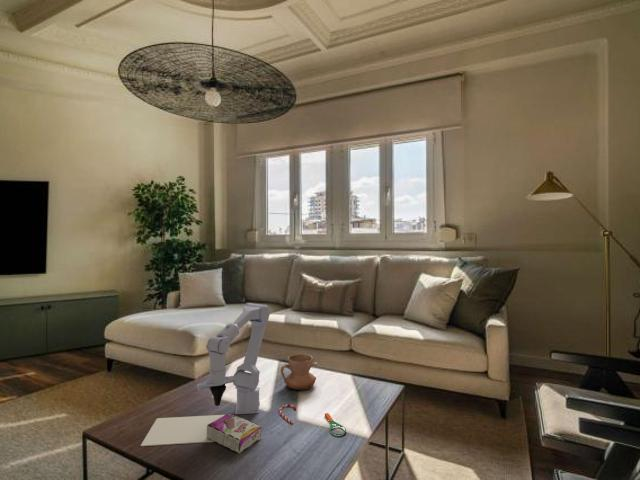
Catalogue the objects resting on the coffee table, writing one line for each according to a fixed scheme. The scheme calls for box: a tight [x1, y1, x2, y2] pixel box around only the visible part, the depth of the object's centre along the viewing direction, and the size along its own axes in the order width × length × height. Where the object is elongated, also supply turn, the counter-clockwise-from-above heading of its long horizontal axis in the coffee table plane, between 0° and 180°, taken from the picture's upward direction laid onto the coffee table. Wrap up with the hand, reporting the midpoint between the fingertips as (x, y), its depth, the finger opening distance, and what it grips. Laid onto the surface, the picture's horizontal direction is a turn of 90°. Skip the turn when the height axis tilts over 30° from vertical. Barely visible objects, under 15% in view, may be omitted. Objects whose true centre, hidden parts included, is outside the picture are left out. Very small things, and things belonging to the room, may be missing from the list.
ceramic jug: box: [280, 353, 318, 391], centre depth 172 cm, size 18×14×14 cm
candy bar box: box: [207, 412, 262, 454], centre depth 128 cm, size 11×5×16 cm
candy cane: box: [278, 404, 297, 425], centre depth 145 cm, size 8×1×15 cm
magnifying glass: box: [324, 412, 347, 435], centre depth 138 cm, size 15×6×2 cm, turn 20°
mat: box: [140, 414, 226, 447], centre depth 133 cm, size 26×18×1 cm
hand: (217, 404), depth 133 cm, fingers closed
